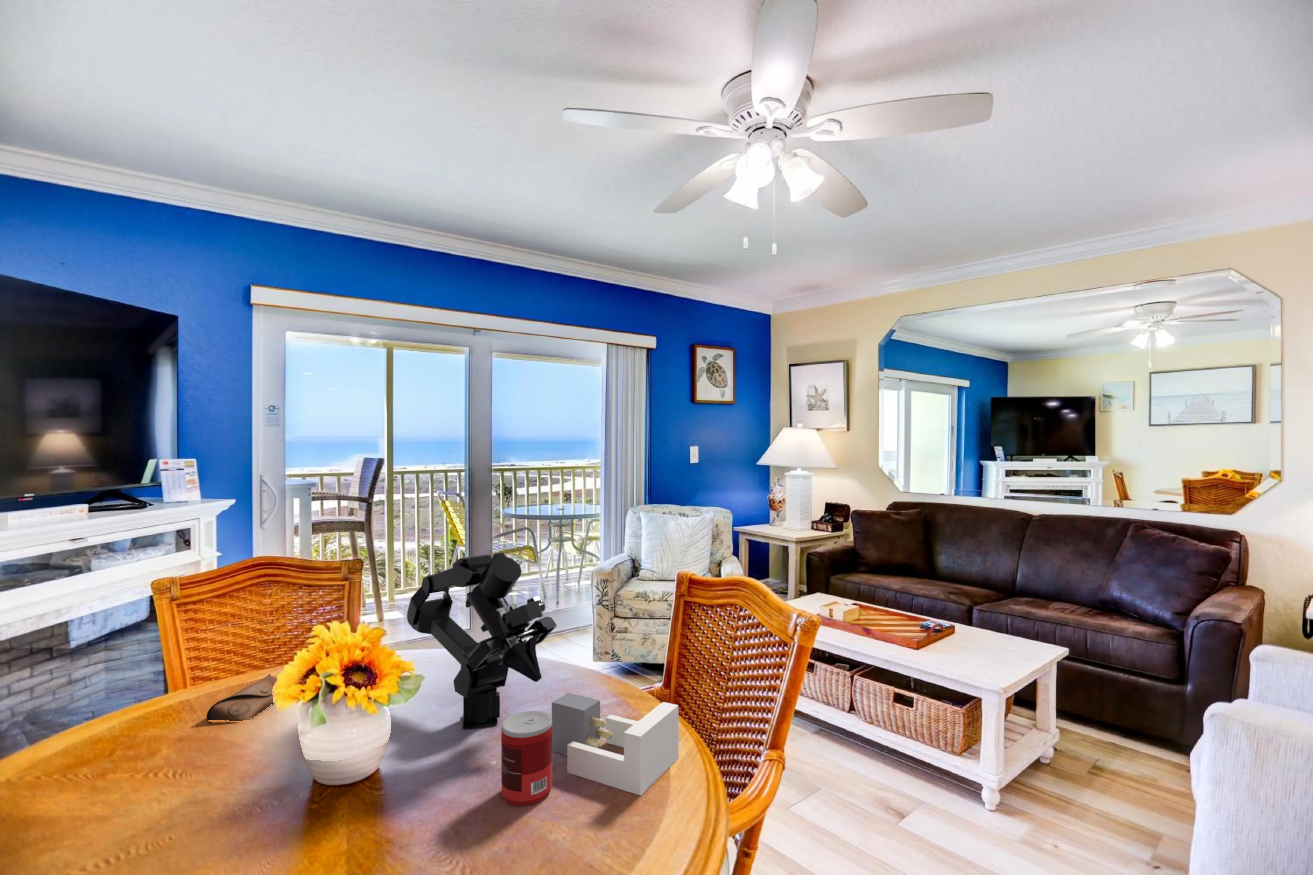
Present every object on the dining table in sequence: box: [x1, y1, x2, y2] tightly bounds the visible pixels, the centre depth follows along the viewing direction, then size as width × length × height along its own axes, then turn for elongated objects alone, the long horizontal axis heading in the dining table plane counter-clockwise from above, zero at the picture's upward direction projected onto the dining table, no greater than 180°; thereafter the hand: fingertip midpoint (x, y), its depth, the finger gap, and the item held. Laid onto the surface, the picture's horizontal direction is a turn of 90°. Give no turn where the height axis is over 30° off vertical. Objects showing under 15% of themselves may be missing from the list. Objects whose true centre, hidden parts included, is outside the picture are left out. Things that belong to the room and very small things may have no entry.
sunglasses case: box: [206, 673, 278, 722], centre depth 128 cm, size 18×7×7 cm
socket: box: [566, 701, 680, 797], centre depth 103 cm, size 14×13×9 cm
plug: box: [551, 692, 612, 756], centre depth 107 cm, size 10×5×8 cm, turn 61°
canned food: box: [500, 710, 553, 807], centre depth 95 cm, size 8×8×11 cm
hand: (538, 679), depth 111 cm, fingers closed
